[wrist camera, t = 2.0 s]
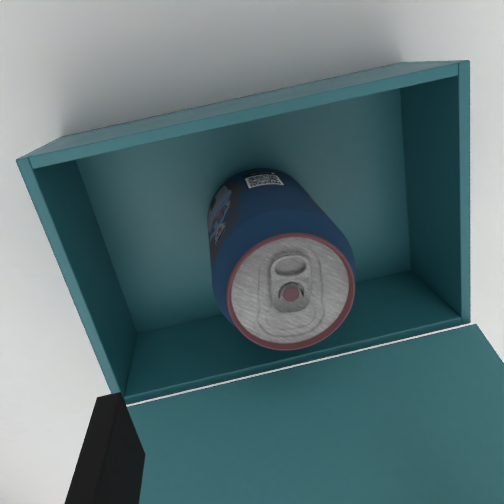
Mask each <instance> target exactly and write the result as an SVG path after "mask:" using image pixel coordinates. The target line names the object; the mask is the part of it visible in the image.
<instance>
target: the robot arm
mask: <svg viewBox="0 0 504 504" xmlns="http://www.w3.org/2000/svg"><path fill="white" fill-rule="evenodd" d="M145 455H146V454H145V452H144V449H143V447H142V444H141V442H140V439H139V437H138V434H137V432H136V429H135V427H134V424H133V421H132V419H131V416H130V414H129V411H128V409H127V406H126V404H125V401H124V399H123V396H122V394H121V392H118V393H114V394H109V395H105V396H101V397H97V400H96V403H95V406H94V409H93V413H92V416H91V419H90V423H89V426H88V429H87V432H86V436H85V439H84V442H83V445H82V449H81V452H80V455H79V459H78V462H77V465H76V468H75V472H74V475H73V478H72V481H71V485H70V488H69V491H68V494H67V498H66V501H65V504H139V500H140V492H141V485H142V477H143V470H144V462H145Z"/></svg>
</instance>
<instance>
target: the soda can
mask: <svg viewBox="0 0 504 504" xmlns="http://www.w3.org/2000/svg"><path fill="white" fill-rule="evenodd" d="M207 222H208V236H209V249H210V262H211V275H212V287H213V293H214V297H215V300H216V302H217V305H218V307H219V309H220V310H221V312H222V313H223V315H224V316H225V317H226V319H227V320H228V321H229V322H230V323H231V324H233V325H234V326H235V327H236V328H238V330H239V331H240V332H241V333H242V334H243V335H244V336H245V337H247V338H248V339H249V340H251V341H252V342H254V343H256V344H258V345H260V346H263V347H266V348H269V349H274V350H296V349H301V348H305V347H308V346H311V345H314V344H316V343H318V342H320V341H322V340H323V339H325V338H326V337H328V336H329V335H331V334H332V333H333V332H334V331H335V330H336V329H337V328H338V327H339V326H340V325H341V324H342V323H343V321H344V320H345V318H346V317H347V315H348V313H349V312H350V309H351V307H352V304H353V300H354V295H355V259H354V255H353V251H352V248H351V246H350V244H349V242H348V240H347V238H346V237H345V235H344V234H343V233H342V232H341V230H340V229H339V228H338V227H337V226H336V225H335V224H334V222H333V221H332V220H331V219H330V218H329V217H328V216H327V215H326V213H325V212H324V211H323V210H322V209H321V208H320V207H319V205H318V204H317V203H316V202H315V201H314V200H313V199H312V197H311V196H310V195H309V194H308V193H307V192H306V191H305V189H304V188H303V187H302V186H301V185H300V184H299V183H298V182H297V181H296V180H295V179H294V178H292V177H291V176H289V175H288V174H286V173H284V172H281V171H279V170H275V169H270V168H254V169H249V170H245V171H243V172H240V173H238V174H236V175H234V176H232V177H231V178H229V179H228V180H227V181H226V182H225V183H224V184H223V185H222V186H221V187H220V188H219V189H218V190H217V192H216V193H215V195H214V197H213V199H212V201H211V204H210V207H209V211H208V219H207Z"/></svg>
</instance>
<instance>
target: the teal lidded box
mask: <svg viewBox="0 0 504 504" xmlns="http://www.w3.org/2000/svg"><path fill="white" fill-rule="evenodd" d="M16 162H17V165H18V167H19V170H20V172H21V175H22V177H23V179H24V182H25V184H26V187H27V189H28V192H29V194H30V196H31V199H32V201H33V204H34V206H35V209H36V211H37V213H38V216H39V218H40V221H41V223H42V226H43V228H44V231H45V233H46V235H47V238H48V240H49V243H50V245H51V248H52V250H53V252H54V255H55V257H56V260H57V262H58V265H59V267H60V269H61V272H62V274H63V277H64V279H65V282H66V284H67V287H68V289H69V291H70V294H71V296H72V299H73V301H74V304H75V306H76V308H77V311H78V313H79V316H80V318H81V321H82V323H83V325H84V328H85V330H86V333H87V335H88V338H89V340H90V343H91V345H92V347H93V350H94V352H95V355H96V357H97V360H98V362H99V364H100V367H101V369H102V372H103V374H104V377H105V379H106V381H107V384H108V386H109V389H110V391H111V394H114V393H118V392H121V394H122V396H123V399H124V401H125V404H132V403H136V402H140V401H144V400H149V399H153V398H157V397H161V396H165V395H170V394H174V393H178V392H182V391H186V390H191V389H195V388H199V387H203V386H207V385H212V384H216V383H220V382H224V381H228V380H233V379H237V378H241V377H245V376H249V375H254V374H258V373H262V372H266V371H270V370H275V369H279V368H283V367H287V366H291V365H296V364H300V363H304V362H308V361H312V360H317V359H321V358H325V357H329V356H333V355H338V354H342V353H346V352H350V351H354V350H359V349H363V348H367V347H371V346H375V345H380V344H384V343H388V342H392V341H396V340H401V339H405V338H409V337H413V336H417V335H422V334H426V333H430V332H434V331H438V330H442V329H447V328H451V327H455V326H459V325H463V324H468V323H470V61H469V60H459V61H427V62H401V63H397V64H392V65H388V66H383V67H379V68H374V69H369V70H365V71H360V72H356V73H351V74H347V75H342V76H337V77H333V78H328V79H324V80H319V81H315V82H310V83H305V84H301V85H296V86H292V87H287V88H283V89H278V90H273V91H269V92H264V93H260V94H255V95H251V96H246V97H241V98H237V99H232V100H228V101H223V102H219V103H214V104H209V105H205V106H200V107H196V108H191V109H187V110H182V111H177V112H173V113H168V114H164V115H159V116H155V117H150V118H145V119H141V120H136V121H132V122H127V123H123V124H118V125H113V126H109V127H104V128H100V129H95V130H91V131H86V132H81V133H77V134H72V135H68V136H63V137H60V138H58V139H56V140H54V141H52V142H50V143H48V144H46V145H44V146H42V147H40V148H38V149H36V150H34V151H32V152H30V153H28V154H26V155H24V156H22V157H21V158H19V159H17V160H16ZM254 168H270V169H275V170H279V171H281V172H284V173H286V174H288V175H289V176H291V177H292V178H294V179H295V180H296V181H297V182H298V183H299V184H300V185H301V186H302V187H303V188H304V189H305V191H306V192H307V193H308V194H309V195H310V196H311V197H312V199H313V200H314V201H315V202H316V203H317V204H318V205H319V207H320V208H321V209H322V210H323V211H324V212H325V213H326V215H327V216H328V217H329V218H330V219H331V220H332V221H333V222H334V224H335V225H336V226H337V227H338V228H339V229H340V230H341V232H342V233H343V234H344V235H345V237H346V238H347V240H348V242H349V244H350V246H351V248H352V251H353V255H354V259H355V295H354V300H353V304H352V307H351V309H350V312H349V313H348V315H347V317H346V318H345V320H344V321H343V323H342V324H341V325H340V326H339V327H338V328H337V329H336V330H335V331H334V332H333V333H332V334H331V335H329V336H328V337H326V338H325V339H323V340H322V341H320V342H318V343H316V344H314V345H311V346H308V347H305V348H301V349H296V350H274V349H269V348H266V347H263V346H260V345H258V344H256V343H254V342H252V341H251V340H249V339H248V338H247V337H245V336H244V335H243V334H242V333H241V332H240V331H239V330H238V328H236V327H235V326H234V325H233V324H231V323H230V322H229V321H228V320H227V319H226V317H225V316H224V315H223V313H222V312H221V310H220V309H219V307H218V305H217V302H216V300H215V297H214V293H213V287H212V275H211V262H210V249H209V236H208V222H207V219H208V211H209V207H210V204H211V201H212V199H213V197H214V195H215V193H216V192H217V190H218V189H219V188H220V187H221V186H222V185H223V184H224V183H225V182H226V181H227V180H228V179H229V178H231V177H232V176H234V175H236V174H238V173H240V172H243V171H245V170H249V169H254Z"/></svg>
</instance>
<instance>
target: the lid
mask: <svg viewBox="0 0 504 504" xmlns="http://www.w3.org/2000/svg"><path fill="white" fill-rule="evenodd" d="M127 409H128V411H129V414H130V416H131V419H132V421H133V424H134V427H135V429H136V432H137V434H138V437H139V439H140V442H141V444H142V447H143V449H144V452H145V454H146V455H145V462H144V470H143V477H142V485H141V492H140V500H139V504H504V363H503V362H502V360H501V359H500V357H499V356H498V355H497V353H496V352H495V350H494V349H493V347H492V346H491V344H490V343H489V342H488V340H487V339H486V337H485V336H484V334H483V333H482V331H481V330H480V329H479V327H478V326H477V324H473V325H469V326H465V327H461V328H457V329H452V330H448V331H444V332H440V333H436V334H431V335H427V336H423V337H419V338H415V339H410V340H406V341H402V342H398V343H394V344H389V345H385V346H381V347H377V348H373V349H368V350H364V351H360V352H356V353H352V354H347V355H343V356H339V357H335V358H331V359H326V360H322V361H318V362H314V363H310V364H305V365H301V366H297V367H293V368H289V369H284V370H280V371H276V372H272V373H268V374H263V375H259V376H255V377H251V378H247V379H243V380H238V381H234V382H230V383H226V384H222V385H217V386H213V387H209V388H205V389H201V390H196V391H192V392H188V393H184V394H180V395H175V396H171V397H167V398H163V399H159V400H154V401H150V402H146V403H142V404H138V405H133V406H129V407H127Z"/></svg>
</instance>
